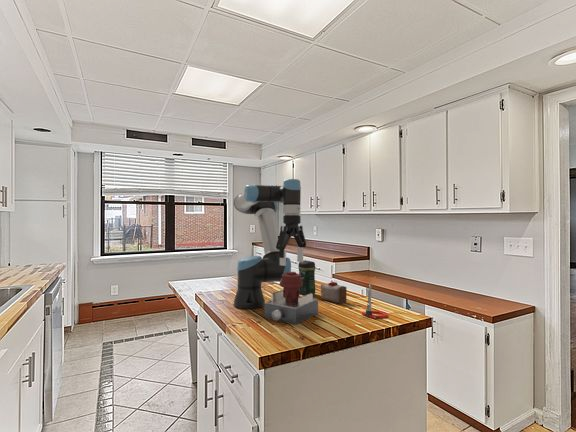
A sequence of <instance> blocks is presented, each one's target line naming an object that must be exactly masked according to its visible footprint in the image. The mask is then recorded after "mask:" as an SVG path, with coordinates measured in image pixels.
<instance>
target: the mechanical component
mask: <svg viewBox="0 0 576 432" xmlns="http://www.w3.org/2000/svg"><path fill="white" fill-rule="evenodd" d="M279 286H280V287H281V288H282V290H283V297H284V298H285V300H287V301H288V302H289V303H291V302H293V301H298V298H299V296H300V293H299V287H302V286H303V282H302V281H301V275H300V274H299V273H297V272H296V271H291V272H287V273H285V274H282V281H280V282H279Z"/></svg>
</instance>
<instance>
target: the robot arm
mask: <svg viewBox="0 0 576 432" xmlns="http://www.w3.org/2000/svg"><path fill="white" fill-rule="evenodd" d="M301 187H302V186H301V180H300V179H299V178H298V179H297V178H287V179H284V180H283V183H282V185H262V184H261V185H259V184H247V185H245V187H244V189H243V191H244V192H243V193H239V194H237V195H236V196H235V197H234V199H233V206H234V208H235V209H236V210H237V211H238V212H239V213H240V214H241V213H242V214H244V215H254V217H255V219H256V220H257V221H258V224H259V231H260V236H261V237H260V238H261V241H262V247H263V252H264V255H263V256H261V255H251V256H246V257H242V258H240V259H239V260H238V262H237V266H236V267H237V269H236V271H237V289H236V294H235V297H234V299H233V306H234V307H235V308H238V309H242V310H243V309H245V310H249V309H250V310H251V309H252V310H253V309H258V308H262V307H265V303H266V300H265V299H266V298H265V297H264V293H263V289H262V283H274V282H275V283H276V282H279V283H280V282H281V281H282V274H285V273H287V272H292V262H291V259H290V258H289V257H287V249H286V247H287V245H288V243H289V240H290V239H291V238H292V237H293V238H294V240H295V242H296V244H297V246H298V247H297V249H296V253H297V255H296V257H297V258H296V259H297V260H296V262H298V263H299V262H303V261H304V248H306V246H307V240H306V237H305V235H304V231H303V230H304V229H303V228H304V227H303V225H300V224H301V219H302V218H301V217H302V216H301V196H302V195H301V193H302V192H301V189H302V188H301ZM278 203H282V204H283V205H282V208H283V209H282V213H283V217H282V218H283V219H282V220H283V221H282V222H283V224H284V225H283V226H282V225H280V230H279V234H278V232H277V228H276V223H275V218H274V217H275V215H276V213H277V211H278Z"/></svg>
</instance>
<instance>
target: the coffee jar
mask: <svg viewBox="0 0 576 432" xmlns="http://www.w3.org/2000/svg"><path fill="white" fill-rule="evenodd" d="M315 271H316V262H315V261H312V260H311V261H310V260H306V259H305V260H304V259H303V262H298V274H300V275H301V281H302V282H303V286H302V287H299V295H300V294H301V295H303V296H305V295H308V294H313V295H315V294H316V280H315V279H316V277H315V275H316V274H315V273H316V272H315Z"/></svg>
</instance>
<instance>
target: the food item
mask: <svg viewBox="0 0 576 432" xmlns="http://www.w3.org/2000/svg"><path fill="white" fill-rule="evenodd" d="M347 294H348V293H347V286H345V285H340V284H338V282H337V281H332V282H331V281H330V282H328V283H326V282H325V283H322V284H320V295H321V300H322V301H326V302H331V303H335V304H340V305H341V304H345V303H347V298H348V297H347Z"/></svg>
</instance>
